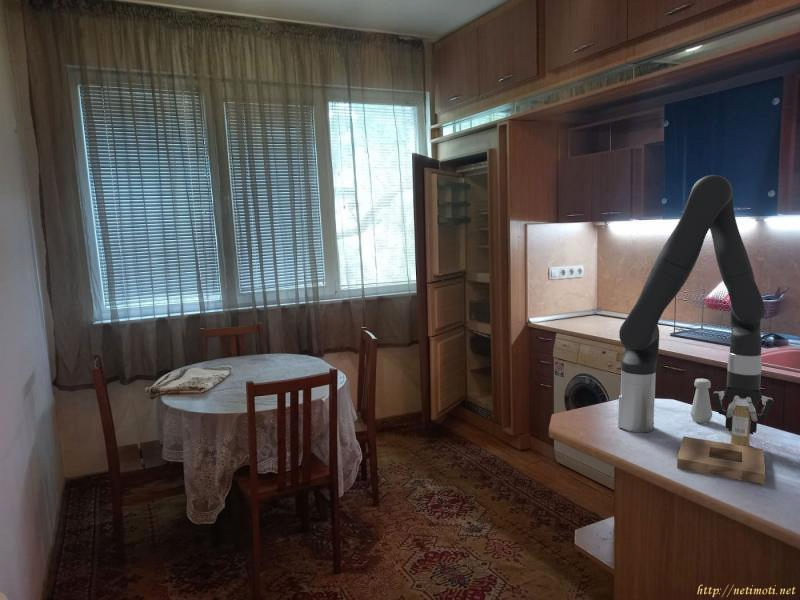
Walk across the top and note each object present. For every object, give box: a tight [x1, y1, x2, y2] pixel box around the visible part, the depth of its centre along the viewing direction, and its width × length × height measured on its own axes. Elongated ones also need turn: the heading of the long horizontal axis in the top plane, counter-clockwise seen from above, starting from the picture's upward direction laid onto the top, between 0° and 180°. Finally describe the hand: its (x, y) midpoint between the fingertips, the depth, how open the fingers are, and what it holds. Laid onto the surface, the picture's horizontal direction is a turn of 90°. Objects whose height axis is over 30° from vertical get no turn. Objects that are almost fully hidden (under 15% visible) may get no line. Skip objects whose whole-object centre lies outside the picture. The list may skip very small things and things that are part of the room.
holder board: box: [676, 436, 766, 485], centre depth 136 cm, size 18×16×2 cm
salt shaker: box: [690, 378, 713, 425], centre depth 164 cm, size 6×6×13 cm
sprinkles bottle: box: [729, 398, 752, 447], centre depth 146 cm, size 5×5×13 cm
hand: (740, 431), depth 146 cm, fingers closed on sprinkles bottle, 4 cm apart
